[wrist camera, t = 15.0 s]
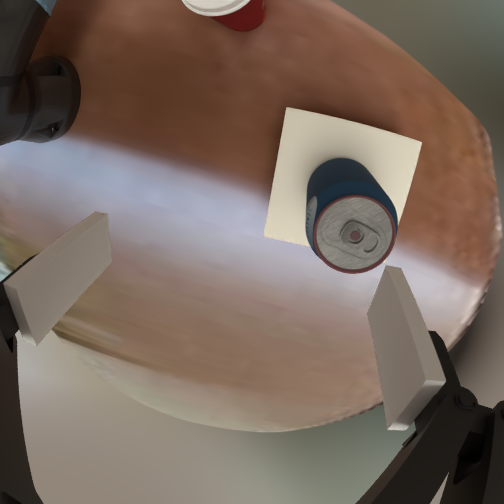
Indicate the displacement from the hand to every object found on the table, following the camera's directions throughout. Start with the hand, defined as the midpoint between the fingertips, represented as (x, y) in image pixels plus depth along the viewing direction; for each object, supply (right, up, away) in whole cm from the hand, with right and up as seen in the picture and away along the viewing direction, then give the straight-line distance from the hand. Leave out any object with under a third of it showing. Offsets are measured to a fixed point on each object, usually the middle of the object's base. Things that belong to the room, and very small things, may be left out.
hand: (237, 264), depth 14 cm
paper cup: (0, +31, +18) cm, 36 cm away
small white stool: (+11, +11, +26) cm, 30 cm away
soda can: (+10, +7, +17) cm, 21 cm away
